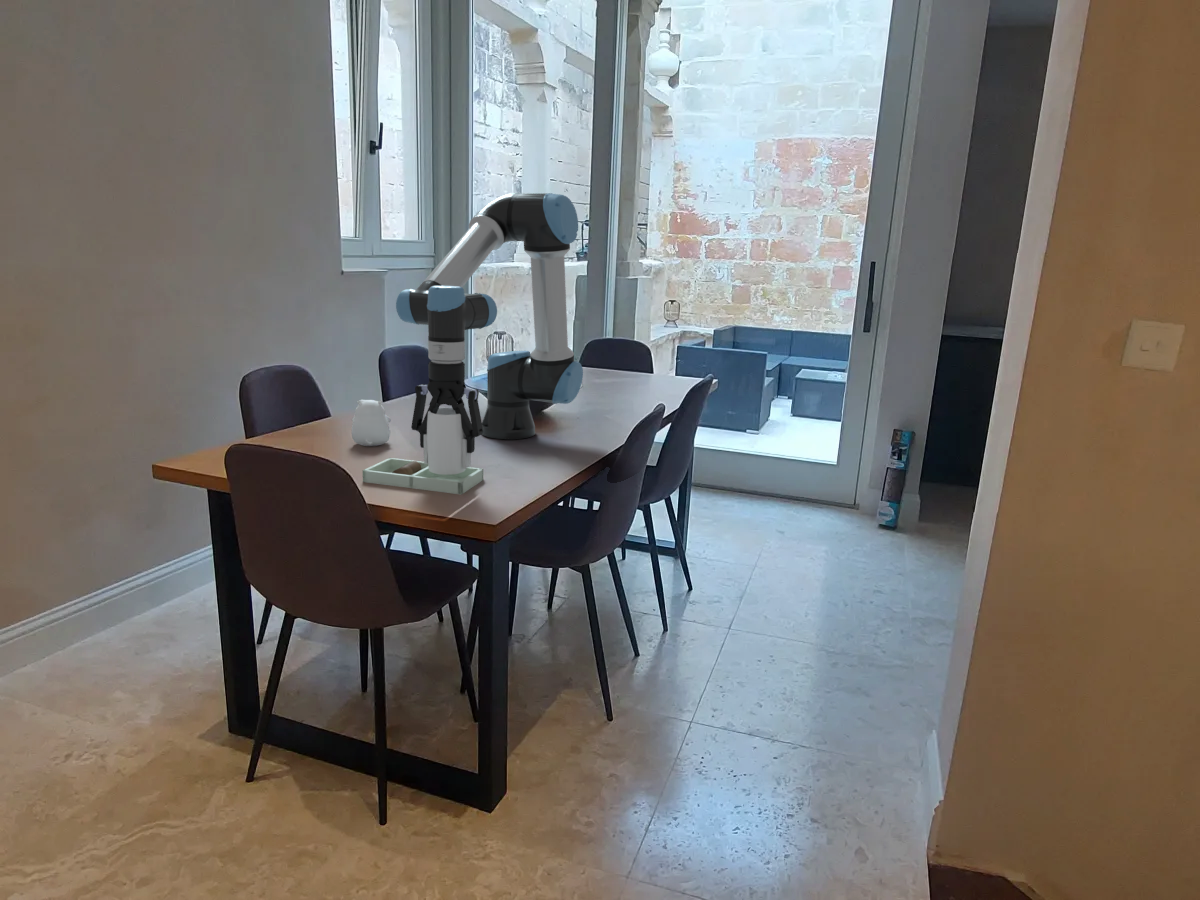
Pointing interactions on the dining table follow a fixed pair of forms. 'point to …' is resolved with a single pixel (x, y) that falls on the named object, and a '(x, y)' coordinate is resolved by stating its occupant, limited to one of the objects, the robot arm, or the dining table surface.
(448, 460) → the cup
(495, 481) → the dining table surface
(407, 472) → the dowel
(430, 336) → the robot arm
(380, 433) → the figurine
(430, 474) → the caddy
